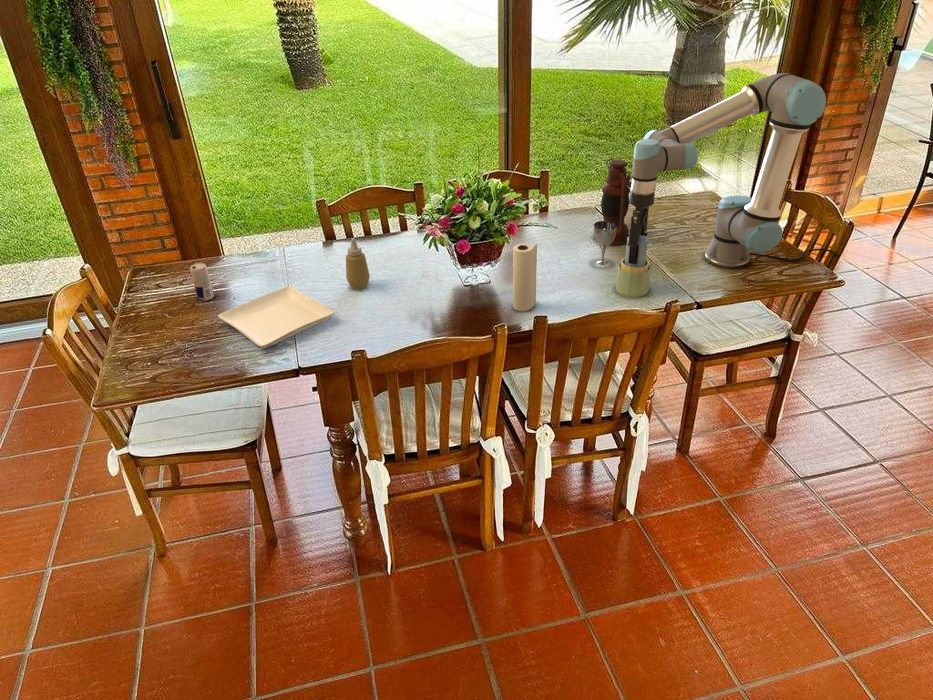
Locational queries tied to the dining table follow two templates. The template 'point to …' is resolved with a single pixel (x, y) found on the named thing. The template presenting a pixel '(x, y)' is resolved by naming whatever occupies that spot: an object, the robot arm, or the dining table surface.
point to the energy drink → (201, 281)
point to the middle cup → (633, 269)
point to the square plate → (276, 316)
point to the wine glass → (604, 236)
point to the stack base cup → (632, 282)
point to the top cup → (641, 252)
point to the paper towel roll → (524, 276)
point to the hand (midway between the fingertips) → (635, 258)
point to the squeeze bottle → (356, 267)
